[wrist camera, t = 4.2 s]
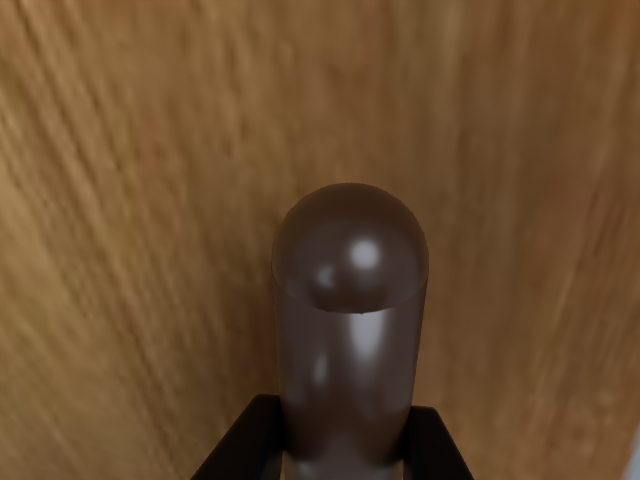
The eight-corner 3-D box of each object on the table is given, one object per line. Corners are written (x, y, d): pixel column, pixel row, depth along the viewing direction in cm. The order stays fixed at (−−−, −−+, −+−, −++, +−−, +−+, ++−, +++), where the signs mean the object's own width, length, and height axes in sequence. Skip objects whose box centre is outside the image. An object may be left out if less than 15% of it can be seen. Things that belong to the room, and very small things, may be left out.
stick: (432, 158, 8) (443, 246, 6) (391, 504, 12) (391, 608, 11) (281, 152, 8) (251, 236, 6) (296, 496, 12) (282, 596, 11)
